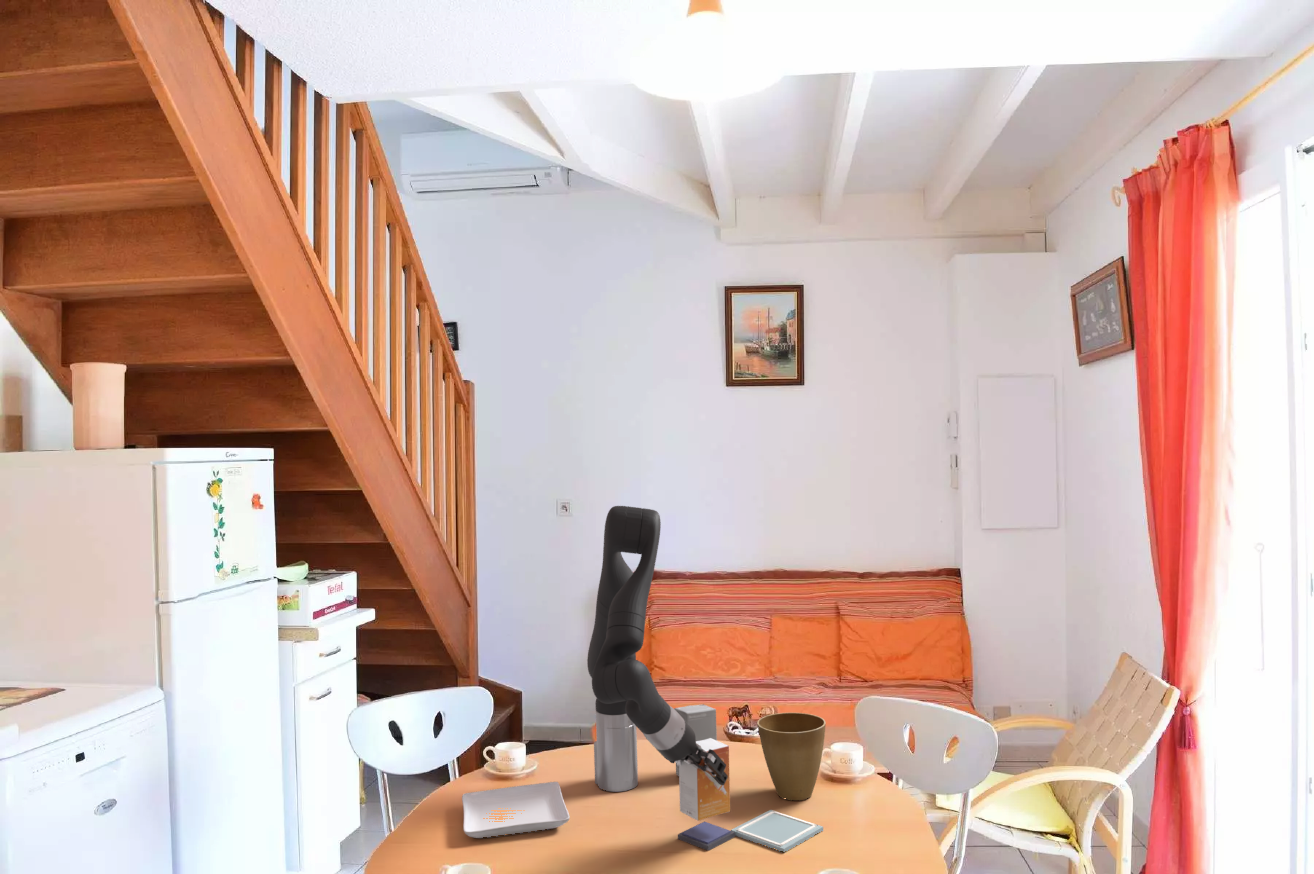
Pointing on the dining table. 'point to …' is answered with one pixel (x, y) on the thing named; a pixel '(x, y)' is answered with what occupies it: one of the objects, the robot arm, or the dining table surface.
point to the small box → (704, 786)
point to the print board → (777, 830)
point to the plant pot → (792, 751)
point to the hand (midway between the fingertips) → (709, 776)
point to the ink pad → (706, 835)
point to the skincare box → (699, 722)
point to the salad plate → (535, 799)
